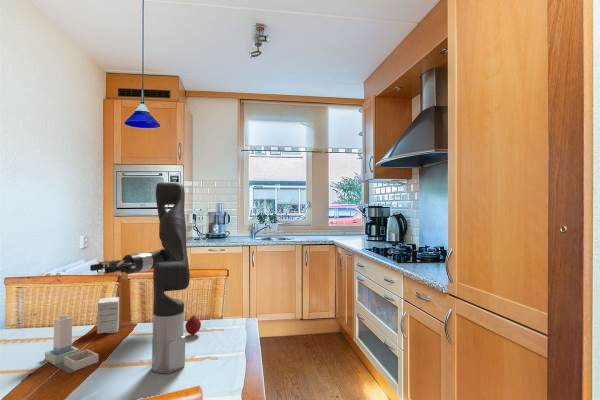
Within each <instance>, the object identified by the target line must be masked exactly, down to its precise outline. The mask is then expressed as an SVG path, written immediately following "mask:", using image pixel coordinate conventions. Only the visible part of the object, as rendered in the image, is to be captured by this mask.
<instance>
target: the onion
mask: <svg viewBox="0 0 600 400" xmlns="http://www.w3.org/2000/svg"><path fill="white" fill-rule="evenodd" d="M184 327H185V331H186V332H187V333H188V334H189V335H191V336H194V335H196V334H197V333H198V332H199V331H200V329H201V327H202V322H201V320H200V319H199V318H198V317H196V314H192V315H191V317H189V318H188V320H187V321H186V323H185V325H184Z"/></svg>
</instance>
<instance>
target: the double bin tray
mask: <svg viewBox="0 0 600 400" xmlns="http://www.w3.org/2000/svg"><path fill="white" fill-rule="evenodd" d="M99 355H100V354H99V353H96V352H94V351H92V350H91V349H88V348H87V349H84V350H81V351H80V349H79V348H77V347H75V346H73V345H72V346H71V351H70V352H67V353H64V354H61V355H58V356H56V355H54V354H53V349H50V350H47V351H45V352H44V361H46V362H48V363H50V364H52V365H53V366H54V367H57V368H58V369H60V370H62V371H63V372H65V373H67V374H71V373H74V372H77V371H80V370H83V369H84V368H88V367H90V366H93V365H95V364H98V363H99V357H100V356H99Z"/></svg>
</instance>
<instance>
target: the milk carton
mask: <svg viewBox="0 0 600 400" xmlns="http://www.w3.org/2000/svg"><path fill="white" fill-rule="evenodd" d="M53 323H54V324H53V325H54V326H53V349H52V350H53V354H54V355H56V356H58V355H61V354H64V353H67V352H70V351H71V346H73V345H72V344H73V343H72V342H73V340H72V338H73V317H72V316H69V315H68V314H62V313H61V314H59V317H57V318H54V320H53Z"/></svg>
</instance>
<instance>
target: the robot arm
mask: <svg viewBox="0 0 600 400" xmlns="http://www.w3.org/2000/svg"><path fill="white" fill-rule="evenodd" d="M185 195H186V191H185V187H184V184H182V183H181V182H166V181H165V182H157V184H156V186H155V200H156V208H157V210H156V211H157V215H158V219H159V227H158V229H159V232H158V236H159V240H160V242H161V243H160V244H161V246H162V248H160V249H157V250H155V251H150V252H140V253H131V254H126V255H124V256H123V258H122V259H116V260H114V259H112V260H107V261H106V260H105V261H99V262H98V263H96V264H90V269H89V270H90V272H94V271H103V270H104V273H105V274H111V273H125V274H127V275H131V274H136V273H142V272H147V271H149V270H153V271H152V274H153V275H152V278H153V279H152V283H153V307H152V308H153V309H152V338H151V339H152V340H151V341H152V344H151V345H152V346H151V351H152V352H151V370H152V372H153V373H157V374H168V375H169V374H171V373H173V372H176V371H177V370H179V369H182V368H184V367H185V364H186V362H185V361H186V336H185V335H184V331H185V330H184V327H185V325H184V324H185V303H184V302H183V301H182V300H181V299H178V298H173V297H171V296H169V295H167V294H166V293H165V292H172V291H173V292H174V291H184V290H185V289H187V288H188V287H189V285H190V281H191V280H190V278H191V276H190V274H191V273H190V266H189V265H190V264H189V257H188V250H187V224H186V214H185V203H186V201H185V198H186V197H185ZM166 205H167V206H172V207H171V208H170V209H169V210H168V211H167V209H166Z"/></svg>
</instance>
